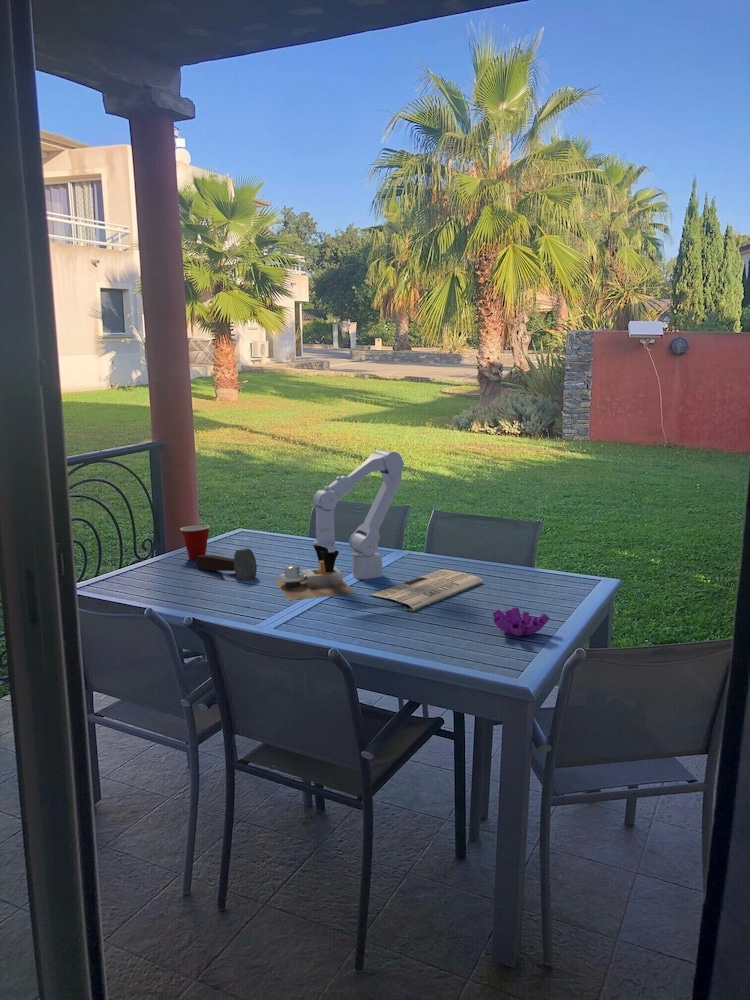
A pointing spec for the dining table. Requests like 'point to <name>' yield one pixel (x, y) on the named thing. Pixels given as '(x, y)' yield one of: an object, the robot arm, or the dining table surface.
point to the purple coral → (518, 622)
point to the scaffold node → (309, 577)
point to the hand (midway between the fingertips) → (326, 569)
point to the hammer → (230, 563)
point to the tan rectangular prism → (322, 567)
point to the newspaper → (430, 588)
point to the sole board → (313, 590)
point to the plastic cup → (195, 540)
